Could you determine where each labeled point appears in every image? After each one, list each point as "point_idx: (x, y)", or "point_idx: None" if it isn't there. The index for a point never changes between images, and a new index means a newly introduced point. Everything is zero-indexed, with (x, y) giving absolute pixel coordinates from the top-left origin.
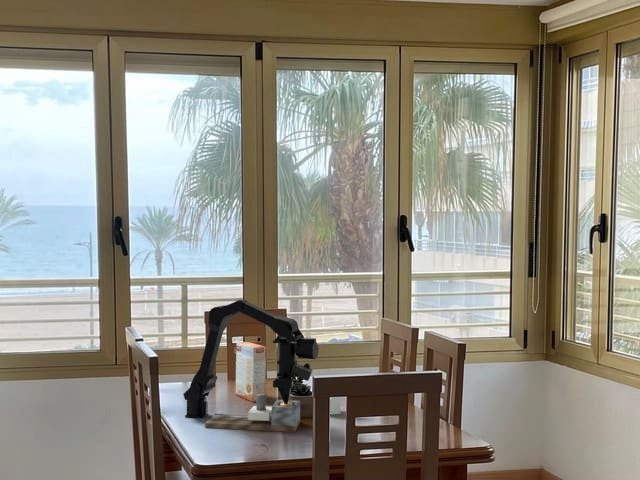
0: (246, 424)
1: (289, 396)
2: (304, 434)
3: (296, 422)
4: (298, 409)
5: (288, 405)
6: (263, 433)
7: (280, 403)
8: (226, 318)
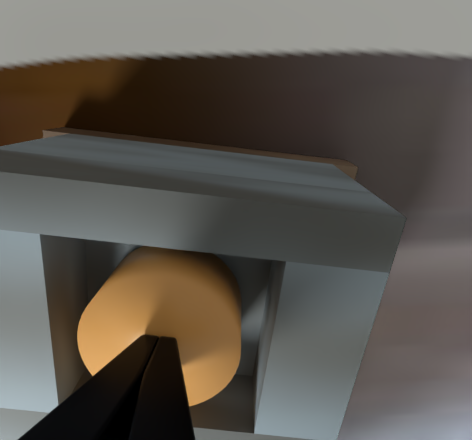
0: None
1: (74, 394)
2: (422, 81)
3: (292, 163)
4: (147, 166)
5: (233, 317)
6: (365, 350)
7: None
8: None
